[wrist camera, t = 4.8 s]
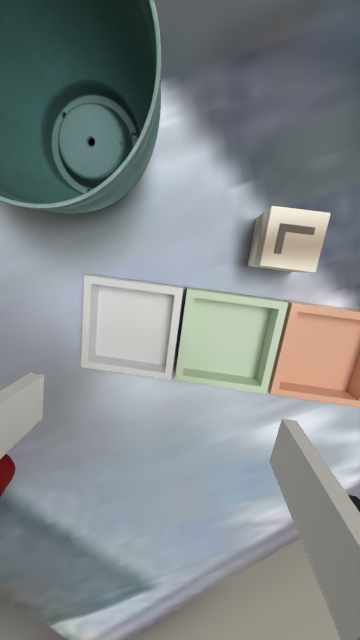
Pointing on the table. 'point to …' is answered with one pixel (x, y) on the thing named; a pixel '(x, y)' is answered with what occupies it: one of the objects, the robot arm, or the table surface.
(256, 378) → the box sage
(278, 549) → the table surface
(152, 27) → the flower pot
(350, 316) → the box terracotta
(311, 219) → the letter cube
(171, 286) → the box grey
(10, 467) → the plastic cup
